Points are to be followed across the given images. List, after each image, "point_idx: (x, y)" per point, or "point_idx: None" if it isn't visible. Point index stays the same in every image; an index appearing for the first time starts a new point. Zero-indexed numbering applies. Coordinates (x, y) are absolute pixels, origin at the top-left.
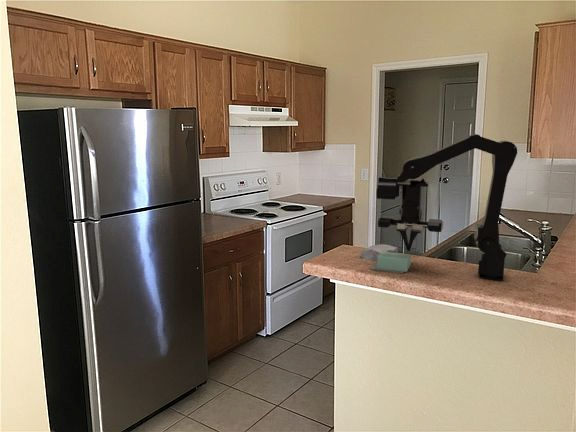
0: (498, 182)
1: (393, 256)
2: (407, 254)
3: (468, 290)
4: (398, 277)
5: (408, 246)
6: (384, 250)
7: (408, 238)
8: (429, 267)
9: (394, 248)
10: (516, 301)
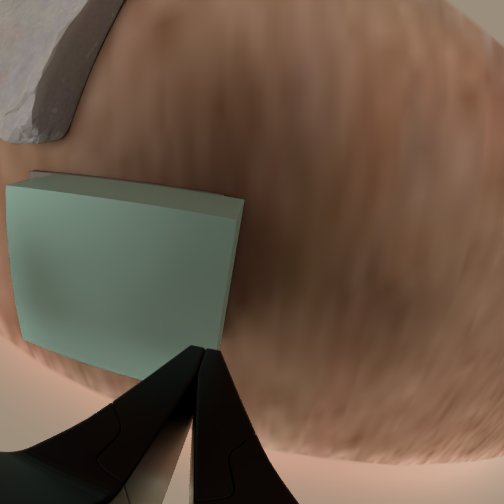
0: None
1: (95, 314)
2: (199, 224)
3: (437, 447)
4: None
5: (190, 421)
6: (17, 105)
7: (157, 465)
8: (382, 183)
9: None
10: (496, 455)
